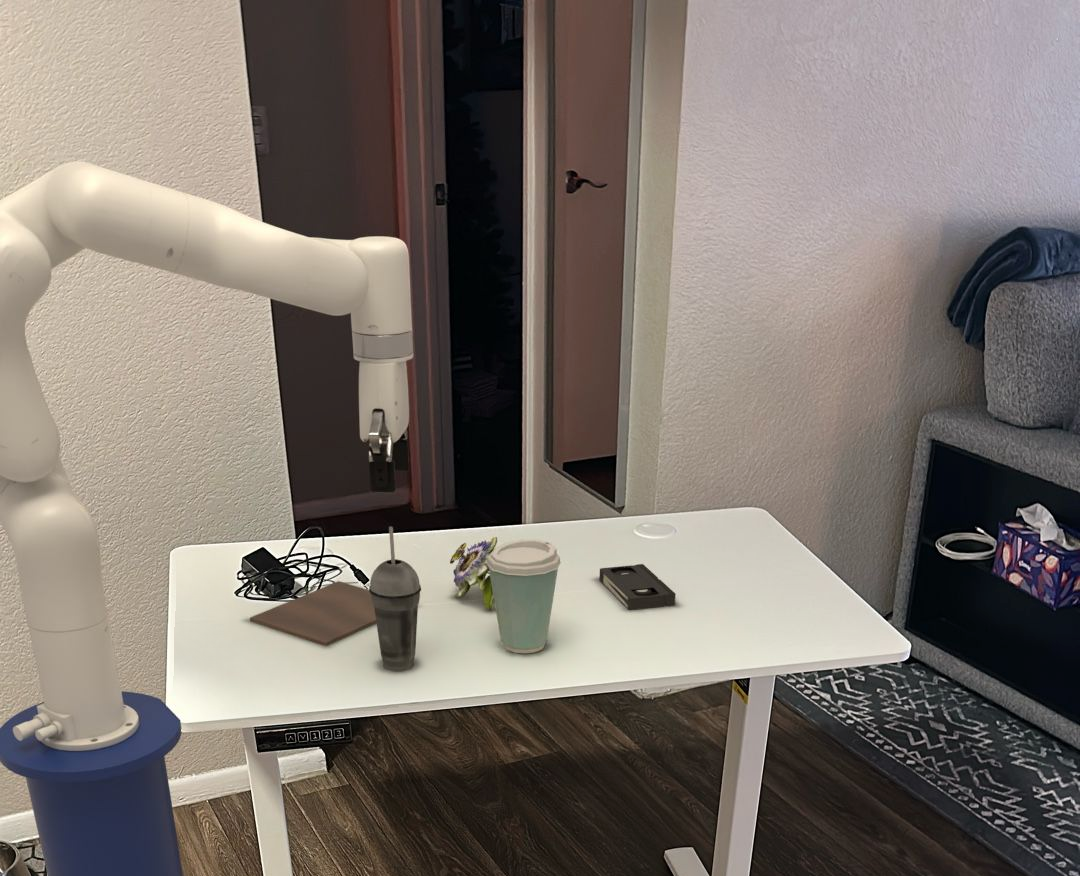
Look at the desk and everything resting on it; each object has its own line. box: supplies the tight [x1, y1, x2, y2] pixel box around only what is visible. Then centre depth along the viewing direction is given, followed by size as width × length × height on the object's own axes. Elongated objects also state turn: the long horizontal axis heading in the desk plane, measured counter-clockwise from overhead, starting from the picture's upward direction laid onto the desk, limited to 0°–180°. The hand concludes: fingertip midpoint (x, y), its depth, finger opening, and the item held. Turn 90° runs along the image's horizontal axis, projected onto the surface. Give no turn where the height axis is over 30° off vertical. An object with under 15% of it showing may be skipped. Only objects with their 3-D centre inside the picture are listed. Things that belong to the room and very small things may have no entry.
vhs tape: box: [598, 563, 676, 611], centre depth 210 cm, size 14×8×2 cm, turn 18°
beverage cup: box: [368, 526, 422, 672], centre depth 179 cm, size 7×7×20 cm
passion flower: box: [449, 536, 498, 612], centre depth 205 cm, size 11×11×12 cm
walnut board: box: [249, 580, 377, 647], centre depth 200 cm, size 20×16×1 cm
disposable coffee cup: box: [487, 538, 561, 654], centre depth 187 cm, size 11×11×15 cm
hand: (390, 480), depth 170 cm, fingers open, 9 cm apart
